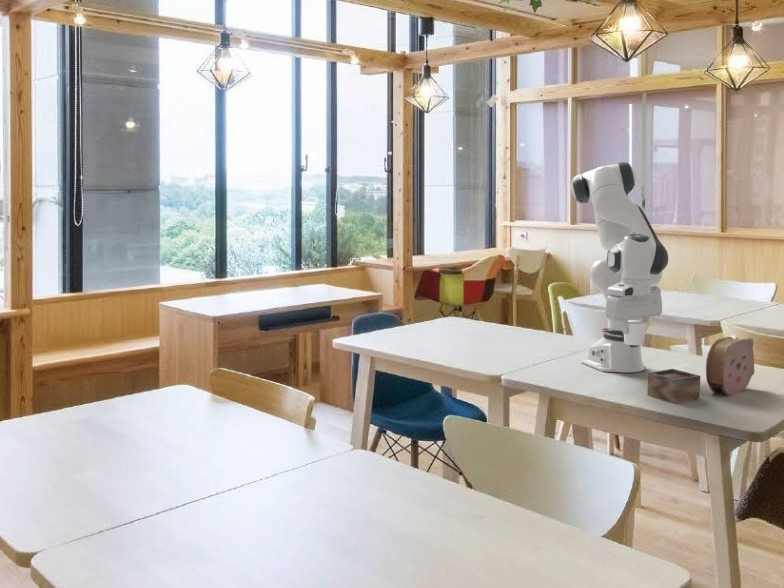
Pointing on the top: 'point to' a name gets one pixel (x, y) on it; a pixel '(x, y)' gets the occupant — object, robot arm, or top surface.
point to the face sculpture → (730, 365)
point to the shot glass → (635, 332)
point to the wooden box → (673, 385)
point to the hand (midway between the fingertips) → (633, 332)
